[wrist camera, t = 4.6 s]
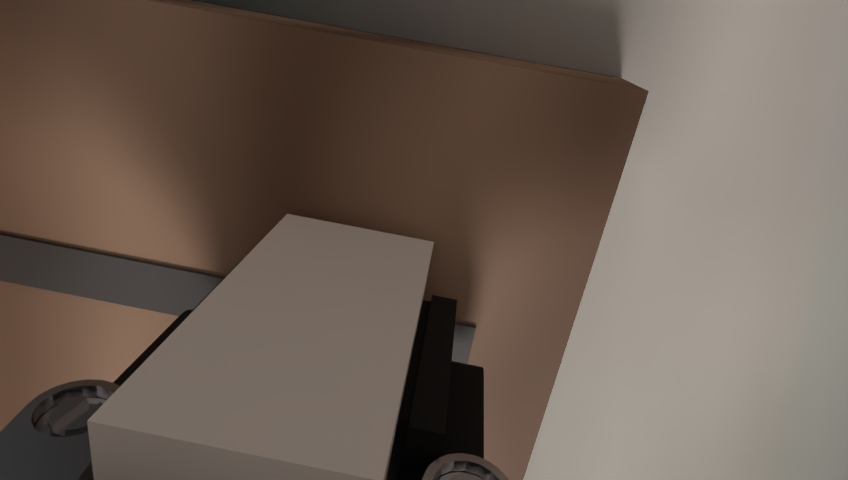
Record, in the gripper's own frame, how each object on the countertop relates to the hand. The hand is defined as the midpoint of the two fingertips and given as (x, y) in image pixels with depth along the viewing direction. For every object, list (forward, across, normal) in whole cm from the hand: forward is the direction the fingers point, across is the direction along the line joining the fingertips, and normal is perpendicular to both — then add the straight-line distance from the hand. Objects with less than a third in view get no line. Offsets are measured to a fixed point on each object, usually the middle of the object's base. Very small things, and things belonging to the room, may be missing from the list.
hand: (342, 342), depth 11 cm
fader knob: (0, 0, 0) cm, 0 cm away
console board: (+3, +8, 0) cm, 8 cm away
